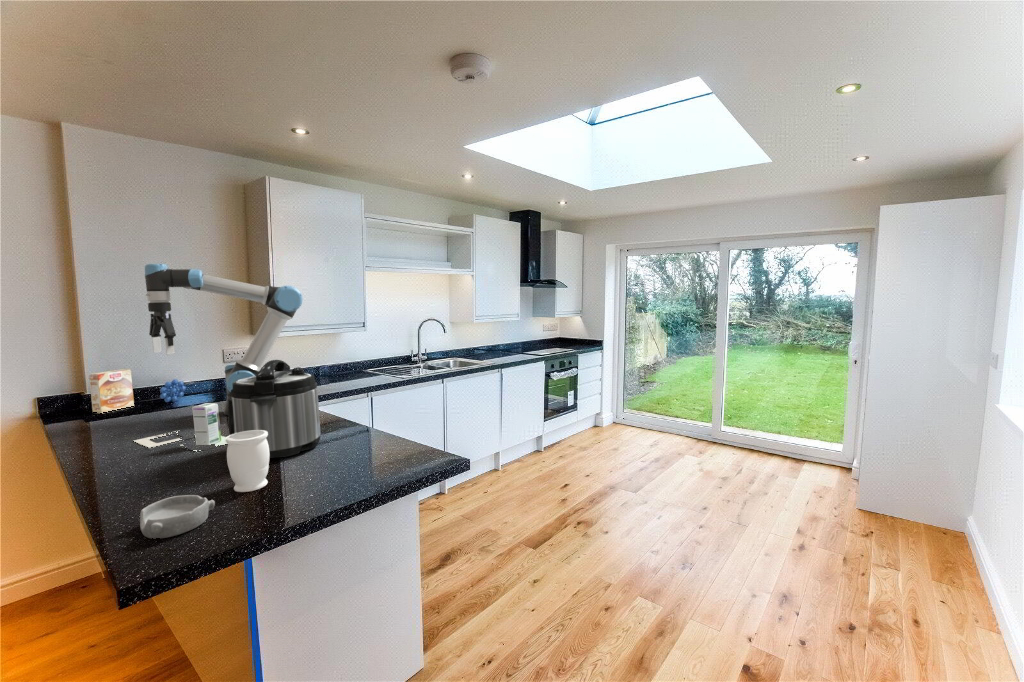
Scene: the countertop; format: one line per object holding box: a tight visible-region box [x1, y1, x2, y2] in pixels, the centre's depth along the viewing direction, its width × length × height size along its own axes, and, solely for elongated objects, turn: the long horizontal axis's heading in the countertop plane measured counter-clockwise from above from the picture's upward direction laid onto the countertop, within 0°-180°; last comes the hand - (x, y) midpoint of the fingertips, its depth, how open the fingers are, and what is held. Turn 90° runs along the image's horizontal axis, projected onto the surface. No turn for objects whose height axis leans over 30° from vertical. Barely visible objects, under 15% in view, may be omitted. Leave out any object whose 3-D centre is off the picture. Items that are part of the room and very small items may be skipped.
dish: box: [139, 494, 216, 540], centre depth 110 cm, size 14×14×5 cm
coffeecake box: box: [88, 368, 135, 414], centre depth 233 cm, size 15×7×20 cm, turn 161°
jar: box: [225, 430, 270, 493], centre depth 131 cm, size 11×10×15 cm
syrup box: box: [191, 402, 222, 445], centre depth 172 cm, size 6×6×14 cm
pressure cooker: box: [227, 359, 321, 459], centre depth 163 cm, size 30×28×32 cm
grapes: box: [159, 378, 187, 403], centre depth 250 cm, size 12×7×12 cm, turn 133°
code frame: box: [132, 430, 182, 449], centre depth 180 cm, size 16×16×1 cm
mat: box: [179, 435, 228, 453], centre depth 172 cm, size 14×14×1 cm
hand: (164, 353), depth 194 cm, fingers open, 13 cm apart
